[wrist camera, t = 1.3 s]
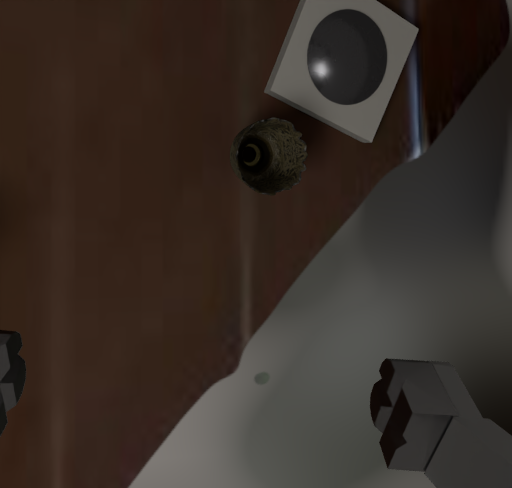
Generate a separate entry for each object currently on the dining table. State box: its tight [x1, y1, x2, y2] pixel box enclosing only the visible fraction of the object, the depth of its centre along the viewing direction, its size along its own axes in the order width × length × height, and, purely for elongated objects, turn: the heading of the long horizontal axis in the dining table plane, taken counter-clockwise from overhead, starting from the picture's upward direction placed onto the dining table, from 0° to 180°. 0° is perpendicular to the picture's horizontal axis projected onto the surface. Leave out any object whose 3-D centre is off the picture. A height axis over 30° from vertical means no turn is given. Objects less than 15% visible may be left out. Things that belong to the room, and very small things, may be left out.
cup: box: [230, 118, 308, 195], centre depth 49 cm, size 8×7×8 cm
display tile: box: [264, 0, 419, 143], centre depth 52 cm, size 14×14×2 cm
